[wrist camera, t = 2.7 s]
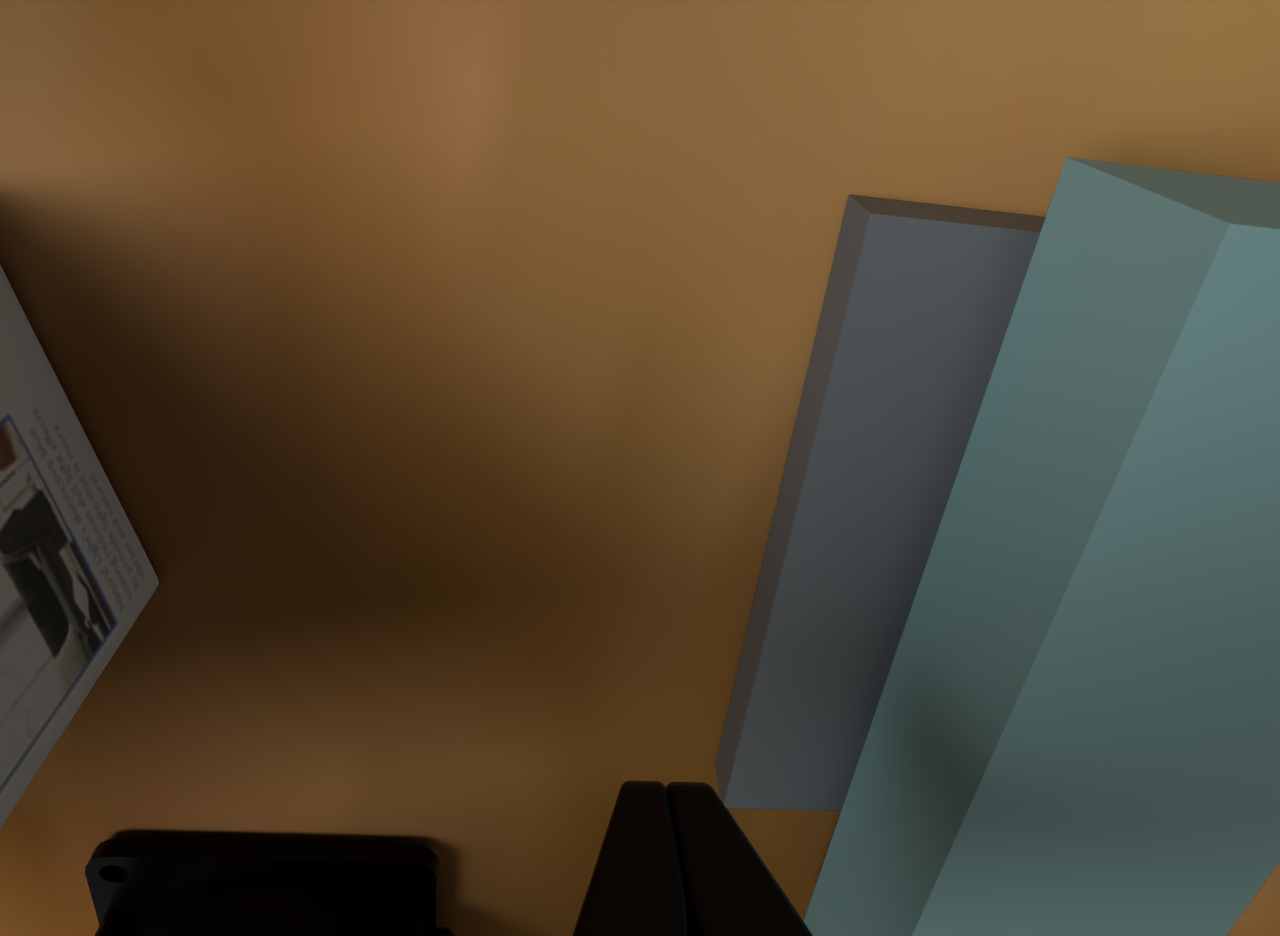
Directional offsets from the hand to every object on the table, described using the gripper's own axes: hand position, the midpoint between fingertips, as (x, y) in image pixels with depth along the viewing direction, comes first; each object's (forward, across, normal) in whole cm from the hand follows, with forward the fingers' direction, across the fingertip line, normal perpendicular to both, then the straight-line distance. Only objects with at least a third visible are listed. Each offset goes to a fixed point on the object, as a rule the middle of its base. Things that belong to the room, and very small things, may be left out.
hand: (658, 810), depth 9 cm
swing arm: (+5, -7, +3) cm, 9 cm away
